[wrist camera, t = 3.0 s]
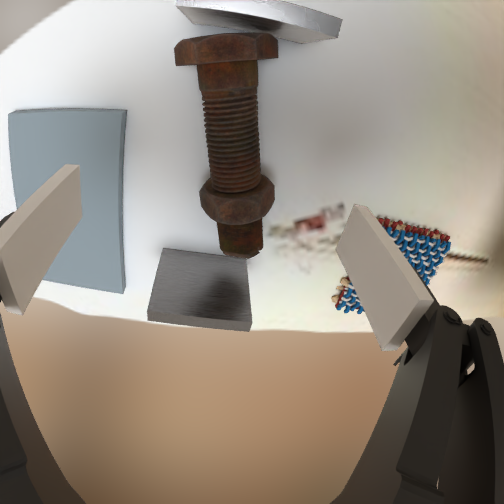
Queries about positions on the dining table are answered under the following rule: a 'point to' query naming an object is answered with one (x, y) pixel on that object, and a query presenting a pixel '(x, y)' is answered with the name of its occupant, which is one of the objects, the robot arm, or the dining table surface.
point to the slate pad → (91, 183)
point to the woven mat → (412, 250)
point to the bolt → (232, 134)
